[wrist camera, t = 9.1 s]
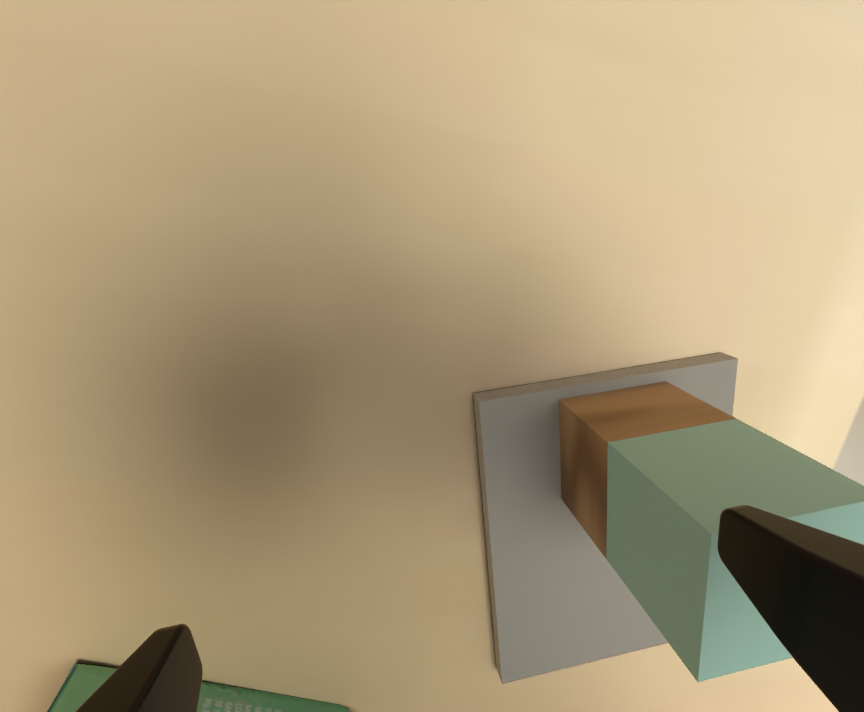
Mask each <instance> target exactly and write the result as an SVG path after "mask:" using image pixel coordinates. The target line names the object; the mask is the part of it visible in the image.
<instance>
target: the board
mask: <svg viewBox="0 0 864 712" xmlns="http://www.w3.org/2000/svg"><path fill="white" fill-rule="evenodd" d="M737 361H738V359H737V358H735V357H732V356H729V355H727V354H724V353H715V354H709V355H703V356H697V357H690V358H684V359H678V360H672V361H666V362H660V363H654V364H648V365H642V366H636V367H630V368H624V369H618V370H612V371H606V372H600V373H593V374H587V375H581V376H575V377H569V378H563V379H557V380H551V381H545V382H539V383H533V384H527V385H521V386H515V387H509V388H502V389H496V390H490V391H484V392H478V393H473V398H474V409H475V421H476V433H477V444H478V456H479V468H480V480H481V491H482V503H483V515H484V526H485V538H486V550H487V562H488V573H489V585H490V597H491V608H492V620H493V632H494V644H495V655H496V667H497V670H498V673H499V676H500V679H501V682H502V684H504V683H508V682H512V681H516V680H520V679H524V678H528V677H532V676H536V675H540V674H544V673H548V672H552V671H556V670H560V669H564V668H568V667H572V666H576V665H580V664H584V663H589V662H593V661H597V660H601V659H605V658H609V657H613V656H617V655H621V654H625V653H629V652H633V651H637V650H641V649H645V648H649V647H653V646H657V645H661V644H665V643H668V641H667V640H666V639H665V637H664V636H663V635H662V633H661V632H660V631H659V629H658V628H657V627H656V625H655V624H654V623H653V621H652V620H651V618H650V617H649V616H648V614H647V613H646V612H645V610H644V609H643V608H642V606H641V605H640V604H639V602H638V601H637V600H636V598H635V597H634V596H633V594H632V593H631V592H630V590H629V589H628V588H627V586H626V585H625V584H624V582H623V581H622V579H621V578H620V577H619V575H618V574H617V573H616V571H615V570H614V569H613V567H612V566H611V565H610V563H609V562H608V561H607V559H606V558H605V557H604V556H603V554H602V553H601V552H600V550H599V549H598V548H597V546H596V545H595V544H594V542H593V541H592V539H591V538H590V537H589V535H588V534H587V533H586V531H585V530H584V529H583V527H582V526H581V525H580V523H579V522H578V521H577V519H576V518H575V517H574V515H573V514H572V513H571V511H570V510H569V508H568V507H567V506H566V504H565V503H564V502H563V500H562V499H561V465H560V426H559V399H564V398H570V397H576V396H582V395H588V394H594V393H599V392H605V391H611V390H617V389H623V388H629V387H635V386H641V385H646V384H652V383H658V382H664V381H666V382H668V383H670V384H672V385H674V386H676V387H678V388H679V389H681V390H683V391H685V392H687V393H689V394H691V395H693V396H695V397H696V398H698V399H700V400H702V401H704V402H706V403H708V404H710V405H712V406H713V407H715V408H717V409H719V410H721V411H723V412H725V413H727V414H729V415H730V416H732V412H733V402H734V392H735V381H736V371H737Z"/></svg>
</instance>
